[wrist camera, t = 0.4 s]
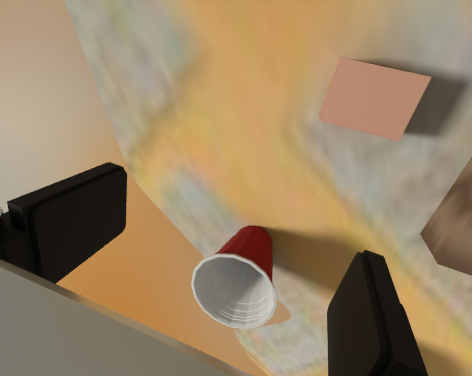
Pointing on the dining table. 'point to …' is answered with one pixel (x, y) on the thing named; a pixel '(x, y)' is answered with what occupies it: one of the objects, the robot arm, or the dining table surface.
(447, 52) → the dining table surface
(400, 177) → the dining table surface
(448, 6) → the dining table surface
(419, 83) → the terracotta block
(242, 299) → the plastic cup
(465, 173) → the brown blocky bar
